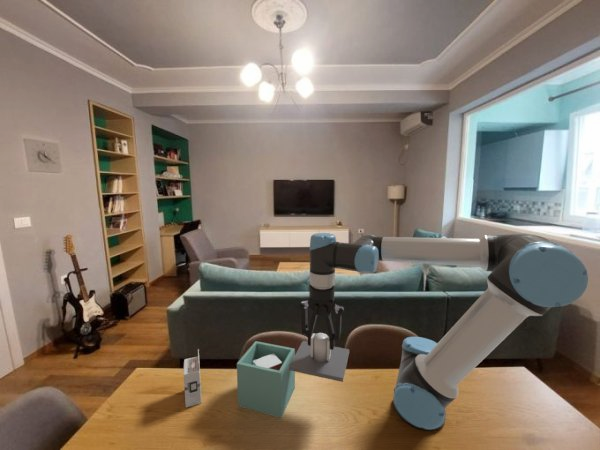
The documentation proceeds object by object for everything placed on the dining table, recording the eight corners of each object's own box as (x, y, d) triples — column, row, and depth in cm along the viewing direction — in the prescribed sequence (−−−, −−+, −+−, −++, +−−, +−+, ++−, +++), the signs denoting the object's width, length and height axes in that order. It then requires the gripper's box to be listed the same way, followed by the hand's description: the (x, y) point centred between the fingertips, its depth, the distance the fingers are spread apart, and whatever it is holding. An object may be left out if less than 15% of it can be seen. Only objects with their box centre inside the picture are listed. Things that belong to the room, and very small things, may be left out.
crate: (294, 387, 94) (294, 348, 92) (281, 418, 82) (281, 373, 80) (256, 378, 99) (255, 341, 97) (238, 406, 87) (236, 363, 84)
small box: (260, 408, 86) (260, 371, 84) (252, 395, 91) (251, 360, 89) (282, 397, 90) (282, 362, 88) (274, 386, 95) (273, 352, 93)
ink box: (185, 389, 94) (183, 350, 91) (200, 385, 95) (198, 347, 93) (185, 408, 86) (182, 366, 84) (201, 403, 87) (199, 362, 85)
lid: (349, 356, 88) (349, 329, 87) (342, 386, 75) (343, 355, 74) (302, 348, 93) (302, 321, 92) (289, 374, 80) (289, 344, 78)
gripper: (352, 283, 81) (350, 354, 85) (298, 277, 86) (297, 344, 90) (349, 293, 74) (347, 369, 77) (290, 285, 79) (290, 358, 83)
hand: (320, 356), depth 84 cm, fingers closed on lid, 4 cm apart
